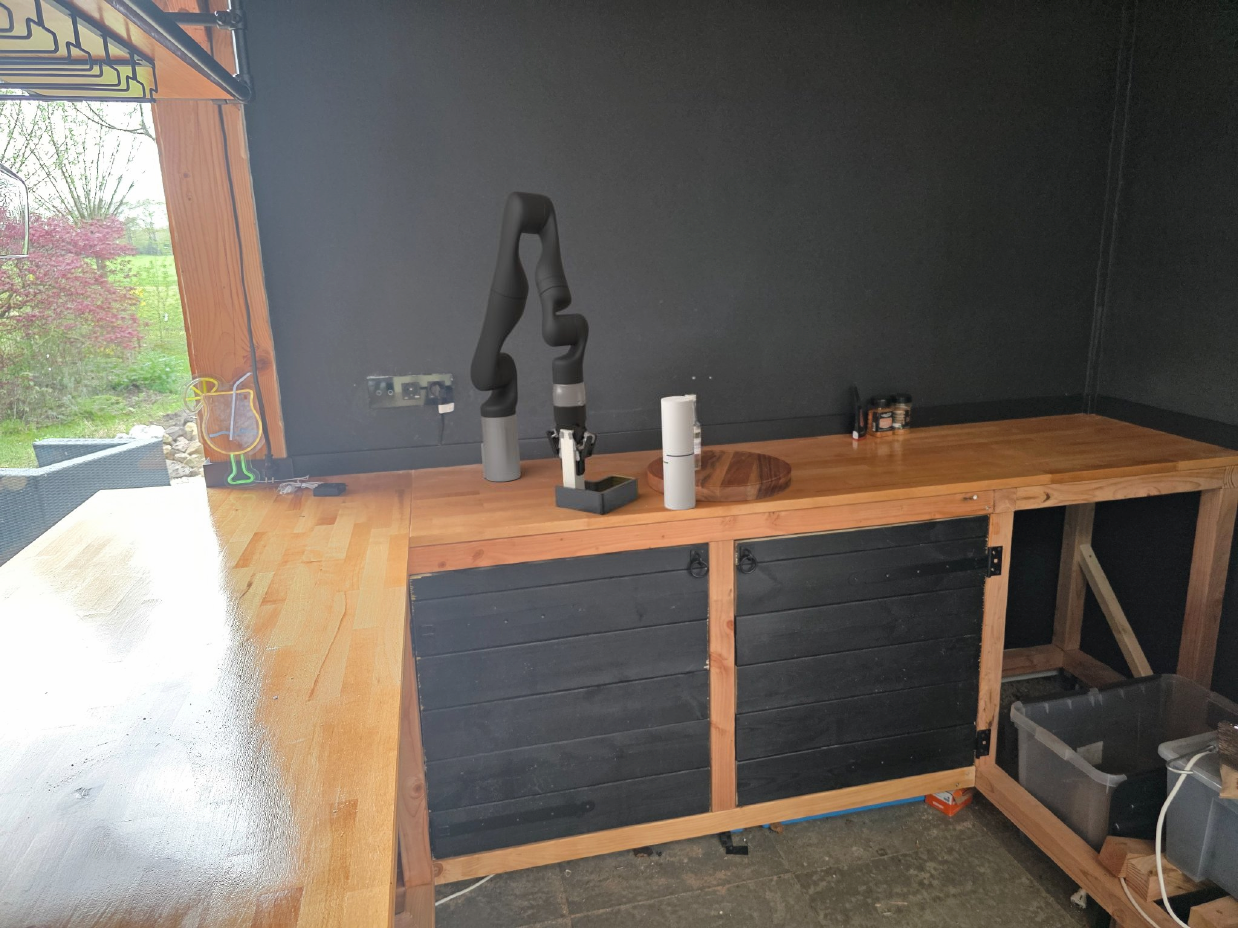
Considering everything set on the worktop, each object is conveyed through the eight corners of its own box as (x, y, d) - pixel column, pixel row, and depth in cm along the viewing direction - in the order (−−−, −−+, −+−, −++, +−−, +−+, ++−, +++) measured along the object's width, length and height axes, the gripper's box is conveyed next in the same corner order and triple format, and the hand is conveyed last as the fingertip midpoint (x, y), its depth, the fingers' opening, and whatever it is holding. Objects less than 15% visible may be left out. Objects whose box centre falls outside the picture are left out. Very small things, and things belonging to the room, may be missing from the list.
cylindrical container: (684, 511, 190) (681, 402, 184) (658, 507, 194) (654, 400, 188) (701, 503, 196) (698, 397, 189) (675, 499, 200) (672, 395, 194)
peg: (564, 495, 199) (560, 429, 195) (573, 491, 202) (569, 426, 198) (575, 497, 197) (571, 431, 193) (584, 493, 200) (581, 428, 196)
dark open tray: (556, 506, 199) (554, 486, 197) (593, 490, 210) (591, 471, 209) (602, 514, 191) (601, 493, 189) (638, 498, 202) (637, 478, 201)
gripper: (535, 402, 195) (540, 474, 199) (583, 407, 187) (587, 481, 191) (556, 397, 201) (560, 466, 205) (603, 401, 192) (607, 473, 197)
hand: (573, 473), depth 198 cm, fingers closed on peg, 3 cm apart
